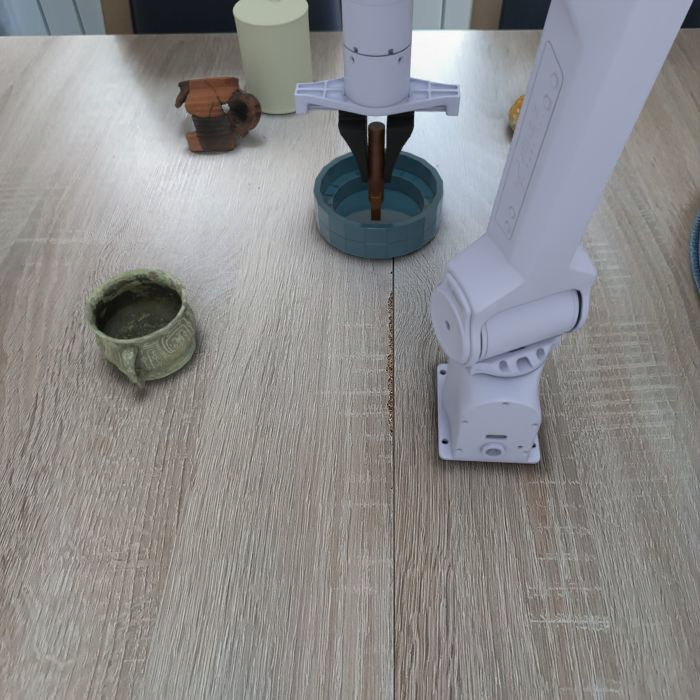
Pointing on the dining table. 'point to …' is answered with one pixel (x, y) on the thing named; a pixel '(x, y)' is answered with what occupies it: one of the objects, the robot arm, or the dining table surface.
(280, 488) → the dining table surface
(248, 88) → the can
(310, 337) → the dining table surface
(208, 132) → the pottery mug
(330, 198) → the bowl
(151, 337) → the vessel
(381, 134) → the stirring stick
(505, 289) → the robot arm
